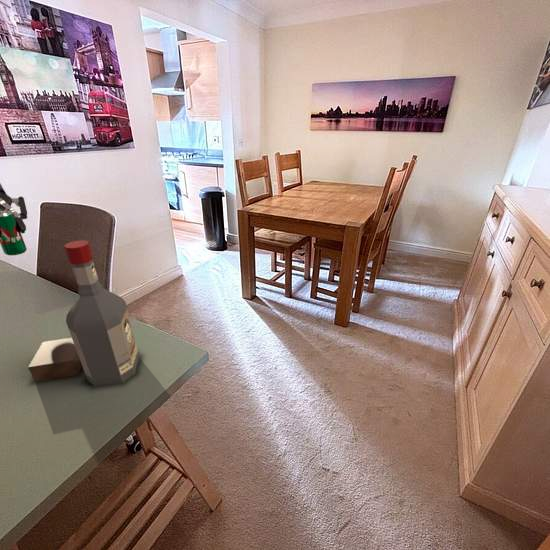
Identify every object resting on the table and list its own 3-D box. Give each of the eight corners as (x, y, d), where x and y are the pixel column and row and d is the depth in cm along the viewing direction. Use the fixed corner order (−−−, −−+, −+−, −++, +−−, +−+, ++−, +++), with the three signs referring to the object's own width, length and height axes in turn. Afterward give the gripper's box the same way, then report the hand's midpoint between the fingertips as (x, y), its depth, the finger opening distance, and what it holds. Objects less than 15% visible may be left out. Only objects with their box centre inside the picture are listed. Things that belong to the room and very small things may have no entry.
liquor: (85, 390, 61) (33, 256, 47) (99, 359, 69) (58, 236, 55) (133, 384, 63) (96, 252, 49) (141, 354, 71) (112, 233, 57)
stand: (36, 385, 62) (27, 367, 60) (50, 358, 69) (42, 341, 67) (79, 377, 64) (73, 360, 62) (89, 352, 71) (83, 335, 69)
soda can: (22, 247, 88) (6, 207, 82) (31, 251, 86) (15, 210, 80) (1, 253, 84) (-17, 211, 78) (9, 257, 82) (-8, 214, 76)
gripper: (-59, 176, 74) (-27, 233, 73) (12, 170, 85) (42, 221, 84) (-53, 194, 80) (-23, 248, 79) (13, 187, 90) (41, 234, 89)
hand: (10, 234), depth 81 cm, fingers closed on soda can, 5 cm apart
